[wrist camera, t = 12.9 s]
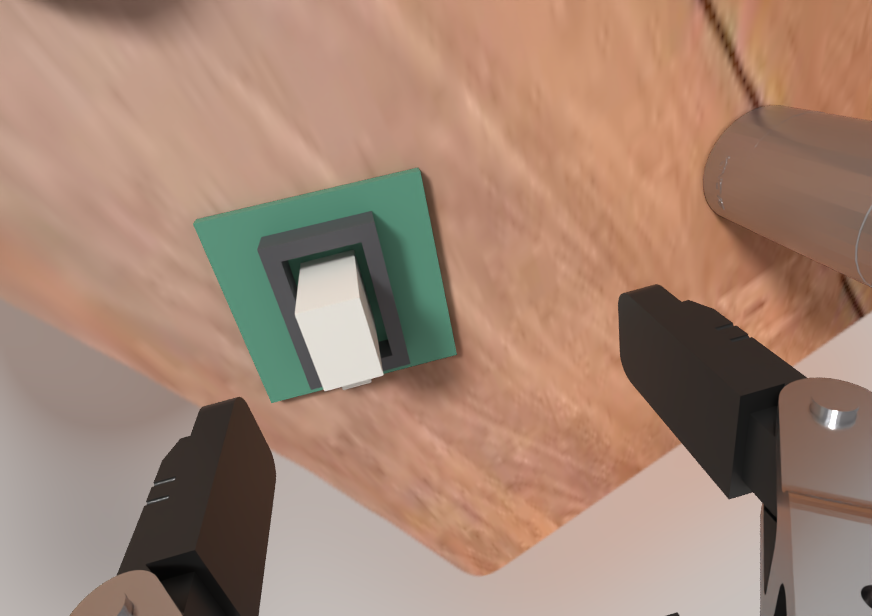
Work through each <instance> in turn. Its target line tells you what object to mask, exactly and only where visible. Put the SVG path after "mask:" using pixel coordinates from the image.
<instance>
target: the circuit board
mask: <svg viewBox="0 0 872 616" xmlns="http://www.w3.org/2000/svg"><path fill="white" fill-rule="evenodd" d="M193 225H194V227H195V229H196V232H197V234H198V236H199V239H200V241H201V243H202V245H203V248H204V250H205V252H206V255H207V257H208V259H209V261H210V264H211V266H212V268H213V271H214V273H215V275H216V277H217V280H218V282H219V284H220V286H221V289H222V291H223V293H224V296H225V298H226V300H227V302H228V305H229V307H230V309H231V312H232V314H233V316H234V318H235V321H236V323H237V325H238V328H239V330H240V332H241V334H242V337H243V339H244V341H245V344H246V346H247V348H248V350H249V353H250V355H251V357H252V359H253V362H254V364H255V366H256V369H257V371H258V373H259V375H260V378H261V380H262V382H263V385H264V387H265V389H266V391H267V394H268V396H269V398H270V401H271V403H274V402H278V401H281V400H285V399H289V398H293V397H297V396H301V395H304V394H308V393H312V392H316V391H320V390H324V389H323V387H322V384H321V381H320V379H319V376H318V374H317V371H316V368H315V366H314V363H313V361H312V358H311V355H310V353H309V350H308V348H307V345H306V343H305V340H304V337H303V335H302V332H301V330H300V327H299V324H298V322H297V319H296V317H295V307H296V299H297V290H298V281H299V273H300V264H301V263H303V262H307V261H311V260H315V259H319V258H323V257H326V256H330V255H334V254H338V253H342V252H346V251H350V250H354V252H355V255H356V259H357V262H358V265H359V269H360V272H361V275H362V279H363V282H364V285H365V289H366V292H367V295H368V299H369V302H370V305H371V309H372V312H373V316H374V320H375V326H376V332H377V338H378V344H379V351H380V357H381V363H382V369H383V374H385V373H389V372H392V371H396V370H400V369H404V368H408V367H412V366H415V365H419V364H423V363H427V362H431V361H435V360H438V359H442V358H446V357H450V356H454V355H457V353H456V348H455V343H454V338H453V333H452V328H451V323H450V318H449V313H448V308H447V303H446V298H445V293H444V288H443V283H442V278H441V273H440V268H439V263H438V258H437V253H436V248H435V243H434V238H433V233H432V228H431V223H430V218H429V213H428V207H427V202H426V197H425V192H424V187H423V182H422V177H421V172H420V170H419V168H414V169H410V170H406V171H401V172H397V173H393V174H388V175H384V176H380V177H376V178H371V179H367V180H363V181H358V182H354V183H350V184H346V185H341V186H337V187H333V188H329V189H324V190H320V191H316V192H311V193H307V194H303V195H299V196H294V197H290V198H286V199H281V200H277V201H273V202H269V203H264V204H260V205H256V206H251V207H247V208H243V209H239V210H234V211H230V212H226V213H222V214H217V215H213V216H209V217H204V218H200V219H196V221H195V222H194V223H193Z"/></svg>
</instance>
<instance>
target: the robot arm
mask: <svg viewBox="0 0 872 616" xmlns="http://www.w3.org/2000/svg"><path fill="white" fill-rule="evenodd" d="M703 188H704V193H705V197H706V200H707V202H708V204H709V206H710V207H711V209H713V210H714V211H715V212H716V213H717V214H718V215H720V216H722V217H724V218H726V219H728V220H730V221H732V222H734V223H736V224H738V225H741V226H743V227H745V228H747V229H749V230H751V231H753V232H755V233H757V234H759V235H761V236H763V237H765V238H767V239H770V240H772V241H774V242H776V243H778V244H780V245H782V246H784V247H787V248H789V249H791V250H793V251H795V252H797V253H799V254H801V255H804V256H806V257H808V258H810V259H812V260H814V261H816V262H818V263H821V264H823V265H825V266H827V267H829V268H831V269H833V270H835V271H838V272H840V273H842V274H844V275H846V276H848V277H850V278H852V279H855V280H857V281H859V282H861V283H863V284H865V285H867V286H869V287H872V121H870V120H864V119H858V118H852V117H846V116H840V115H834V114H828V113H823V112H817V111H811V110H805V109H799V108H793V107H786V106H780V105H769V106H764V107H760V108H757V109H754V110H752V111H750V112H748V113H746V114H744V115H743V116H741V117H740V118H739V119H737V120H736V121H734V122H733V123H732V124H731V125H730V126H729V127H728V128H727V129H726V130H725V131H724V132H723V134H722V135H721V136H720V138H719V139H718V140H717V142H716V143H715V145H714V147H713V149H712V151H711V152H710V154H709V157H708V160H707V163H706V166H705V171H704V177H703ZM618 313H619V341H620V357H621V362H622V366H623V368H624V371H625V373H626V375H627V377H628V379H629V380H630V382H631V383H632V384H633V386H634V387H635V388H636V389H637V390H638V392H639V393H640V394H641V395H642V396H643V397H644V399H645V400H646V401H647V402H648V403H649V405H650V406H651V407H652V408H653V409H654V411H655V412H656V413H657V414H658V415H659V417H660V418H661V419H662V420H663V421H664V422H665V424H666V425H667V426H668V427H669V428H670V430H671V431H672V432H673V433H674V434H675V436H676V437H677V438H678V439H679V440H680V442H681V443H682V444H683V445H684V446H685V447H686V449H687V450H688V451H689V452H690V453H691V455H692V456H693V457H694V458H695V459H696V461H697V462H698V463H699V464H700V465H701V467H702V468H703V469H704V470H705V471H706V473H707V474H708V475H709V476H710V477H711V478H712V480H713V481H714V482H715V483H716V484H717V486H718V487H719V488H720V489H721V490H722V491H723V493H724V494H725V495H726V496H727V497H728V499H731V498H735V497H739V496H742V495H745V494H748V493H752V492H753V493H755V495H756V496H757V497H758V498H759V499H760V501H761V502H762V507H761V514H760V523H761V524H760V527H761V528H760V537H761V538H760V616H872V392H870V391H869V390H867V389H865V388H863V387H861V386H858V385H855V384H853V383H849V382H845V381H841V380H837V379H831V378H807V377H805V376H804V375H802V374H801V373H800V372H799V371H797V370H796V369H795V368H793V367H792V366H790V365H789V364H788V363H786V362H785V361H784V360H782V359H781V358H780V357H778V356H777V355H776V354H774V353H773V352H771V351H770V350H769V349H767V348H766V347H765V346H763V345H762V344H761V343H759V342H758V341H757V340H755V339H754V338H752V337H751V338H749V336H748V334H747V333H746V332H744V331H743V330H742V329H740V328H739V327H738V326H733V323H732V322H731V321H729V320H728V319H727V318H725V317H724V316H723V315H721V314H720V313H719V312H717V311H716V310H715V309H712V308H709V307H707V306H704V305H701V304H698V303H696V302H693V301H690V300H687V301H683V302H681V301H680V300H678V299H677V298H676V297H675V296H673V295H672V294H671V293H670V292H668V291H667V290H666V289H664V288H663V287H662V286H660V285H658V284H655V285H652V286H648V287H644V288H641V289H637V290H633V291H630V292H626V293H623V294H621V295H620V297H619V301H618ZM275 483H276V470H275V464H274V459H273V456H272V453H271V450H270V448H269V446H268V444H267V442H266V440H265V438H264V436H263V434H262V432H261V430H260V428H259V426H258V424H257V422H256V420H255V418H254V416H253V414H252V413H251V411H250V409H249V407H248V405H247V403H246V402H245V400H244V399H243V398H241V397H237V398H233V399H229V400H226V401H222V402H218V403H215V404H211V405H207V406H204V407H202V408H201V409H200V411H199V413H198V416H197V419H196V421H195V424H194V427H193V430H192V433H191V436H188V437H184V438H181V439H180V440H179V441H178V442H177V443H176V445H175V446H174V447H173V448H172V449H171V451H170V452H169V453H168V455H167V456H166V457H165V458H164V459H163V460H162V463H161V465H160V468H159V471H158V473H157V476H156V478H155V480H154V487H152V488H151V491H150V493H149V495H148V498H147V501H146V502H147V505H146V506H144V508H143V511H142V513H141V516H140V519H139V521H138V523H137V526H136V528H135V531H134V533H133V536H132V538H131V541H130V543H129V546H128V548H127V551H126V553H125V556H124V558H123V561H122V563H121V566H120V568H119V571H118V573H117V576H116V577H113V578H111V579H110V580H108V581H106V582H105V583H103V584H102V585H100V586H99V587H97V588H96V589H95V590H93V591H92V592H91V593H90V594H89V595H87V596H86V597H85V598H84V599H83V600H82V601H81V602H80V603H79V605H78V606H77V607H76V608H75V609H74V610H73V611H72V613H71V614H70V616H258V615H259V606H260V599H261V592H262V583H263V576H264V567H265V560H266V553H267V545H268V537H269V530H270V522H271V514H272V507H273V499H274V490H275ZM667 616H679V614H678V613H674V614H670V615H667Z"/></svg>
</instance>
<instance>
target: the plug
mask: <svg viewBox="0 0 872 616" xmlns="http://www.w3.org/2000/svg"><path fill="white" fill-rule="evenodd" d="M295 317H296V319H297V322H298V324H299V327H300V330H301V332H302V335H303V337H304V340H305V343H306V345H307V348H308V350H309V353H310V355H311V358H312V361H313V363H314V366H315V368H316V371H317V374H318V376H319V379H320V381H321V384H322V387H323V389H324V391H328V390H332V389H335V388H339V387H342V388H343V390H345V389H349V388H353V387H356V386H360V385H364V384H367V383H371V379H372V378H376V377H379V376H383V369H382V363H381V357H380V351H379V344H378V338H377V332H376V326H375V320H374V316H373V312H372V309H371V305H370V302H369V299H368V295H367V292H366V289H365V285H364V282H363V279H362V275H361V272H360V269H359V265H358V262H357V259H356V255H355V252H354V250H350V251H346V252H342V253H338V254H334V255H330V256H326V257H323V258H319V259H315V260H311V261H307V262H303V263H301V264H300V273H299V281H298V290H297V299H296V307H295Z"/></svg>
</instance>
